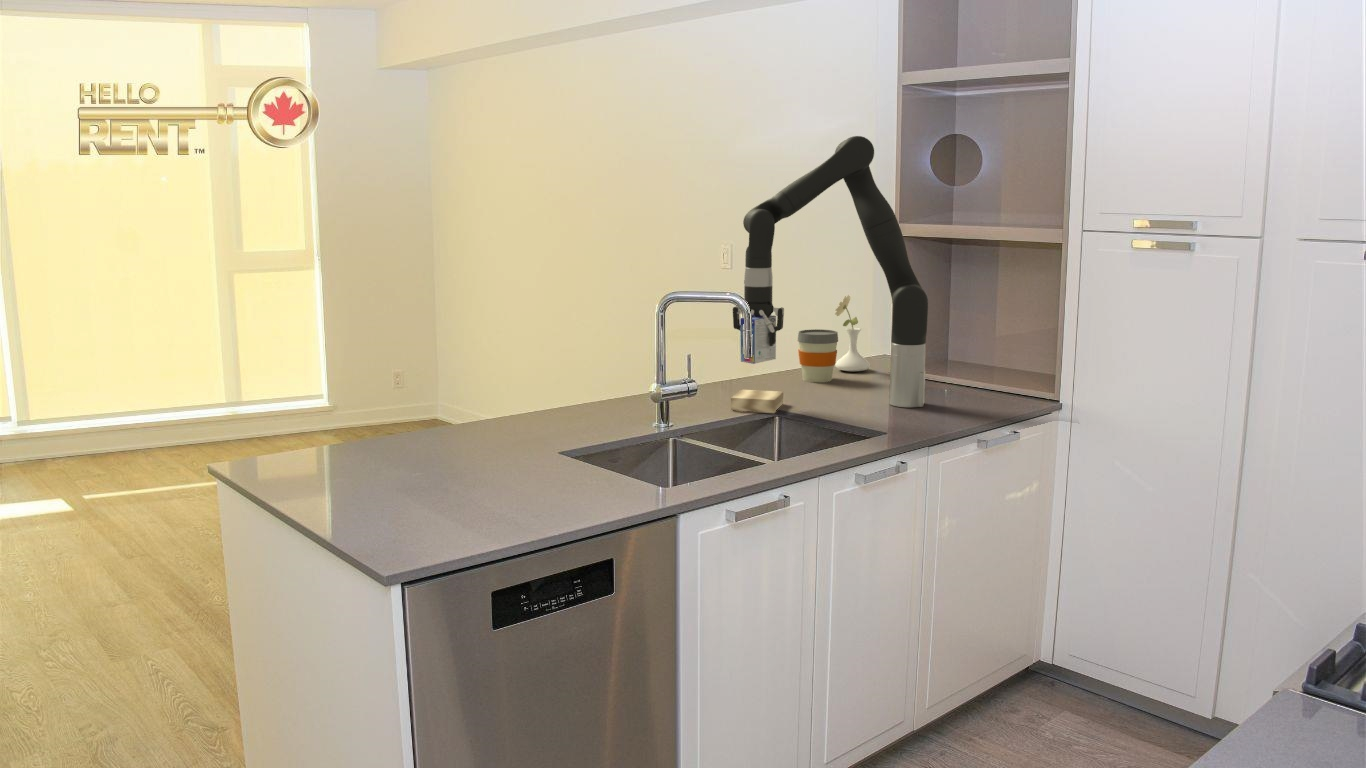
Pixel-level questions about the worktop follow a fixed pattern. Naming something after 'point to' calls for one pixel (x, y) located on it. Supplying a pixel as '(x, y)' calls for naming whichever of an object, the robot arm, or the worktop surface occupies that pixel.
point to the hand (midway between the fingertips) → (758, 345)
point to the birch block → (757, 401)
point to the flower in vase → (851, 344)
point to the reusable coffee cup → (817, 354)
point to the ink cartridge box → (759, 341)
